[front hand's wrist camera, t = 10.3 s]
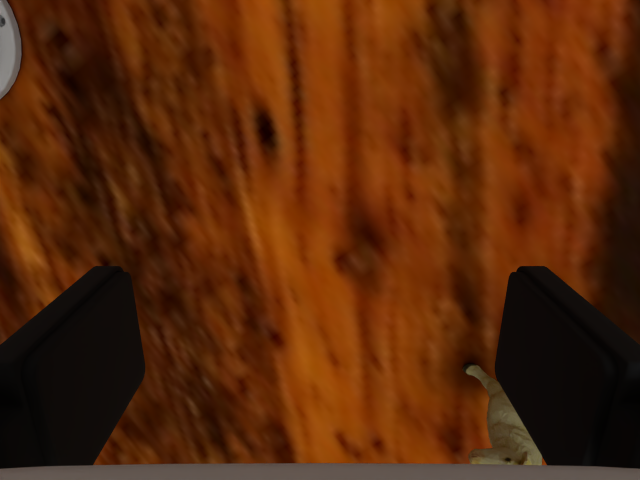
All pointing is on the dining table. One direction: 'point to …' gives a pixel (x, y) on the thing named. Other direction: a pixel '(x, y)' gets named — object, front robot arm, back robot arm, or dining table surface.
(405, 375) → the dining table surface
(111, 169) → the dining table surface
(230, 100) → the dining table surface
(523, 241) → the dining table surface
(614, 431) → the front robot arm
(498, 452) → the toy
